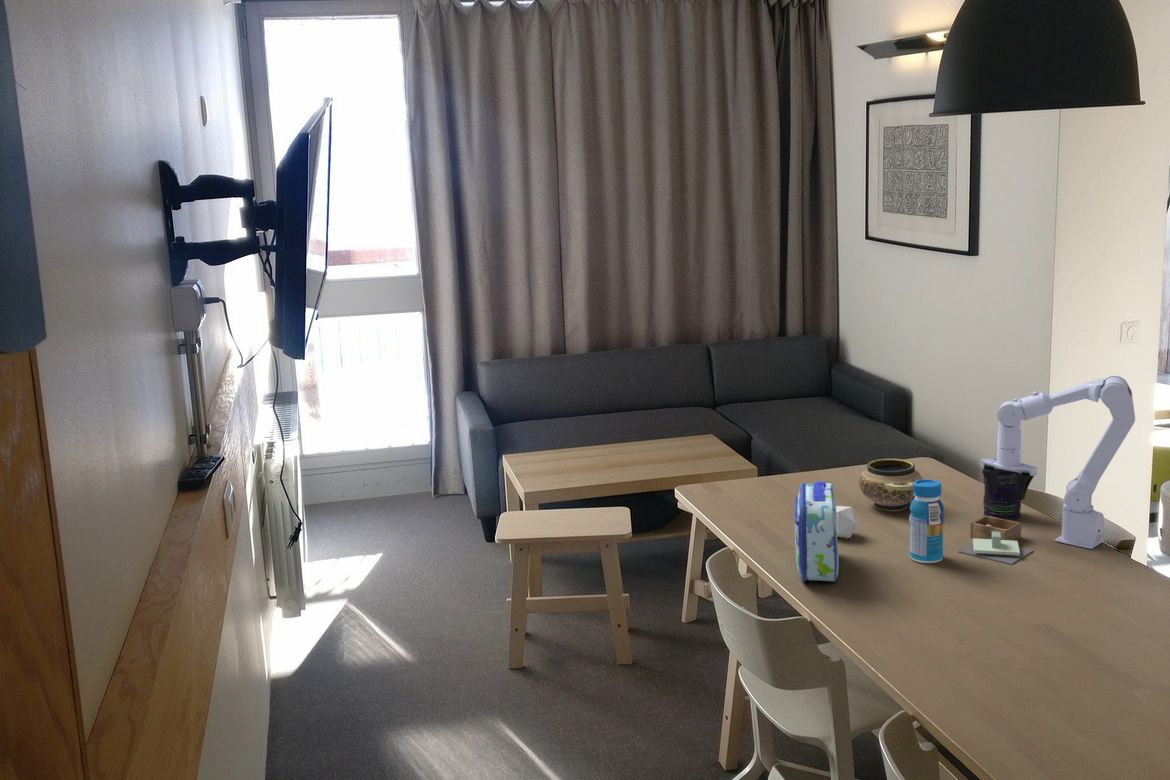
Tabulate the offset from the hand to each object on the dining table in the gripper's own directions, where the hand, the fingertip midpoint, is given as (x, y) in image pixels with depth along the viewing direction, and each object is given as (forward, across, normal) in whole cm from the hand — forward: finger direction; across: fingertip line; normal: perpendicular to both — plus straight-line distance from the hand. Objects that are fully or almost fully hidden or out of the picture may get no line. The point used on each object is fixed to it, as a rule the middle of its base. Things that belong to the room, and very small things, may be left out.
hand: (1007, 496), depth 285 cm
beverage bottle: (+11, +7, +29) cm, 32 cm away
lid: (+10, -4, +14) cm, 17 cm away
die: (+11, +33, +28) cm, 45 cm away
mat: (+10, -4, +14) cm, 18 cm away
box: (+10, +1, +4) cm, 11 cm away
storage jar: (+10, +8, -14) cm, 19 cm away
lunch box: (+11, +24, +52) cm, 58 cm away
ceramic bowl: (+11, +36, -2) cm, 38 cm away
